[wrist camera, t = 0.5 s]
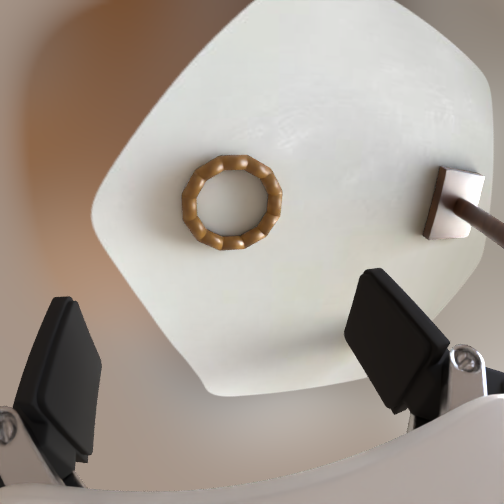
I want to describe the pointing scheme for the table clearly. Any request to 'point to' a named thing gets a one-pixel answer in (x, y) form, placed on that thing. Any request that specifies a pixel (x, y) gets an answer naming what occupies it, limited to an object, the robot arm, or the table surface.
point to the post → (460, 208)
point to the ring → (215, 168)
